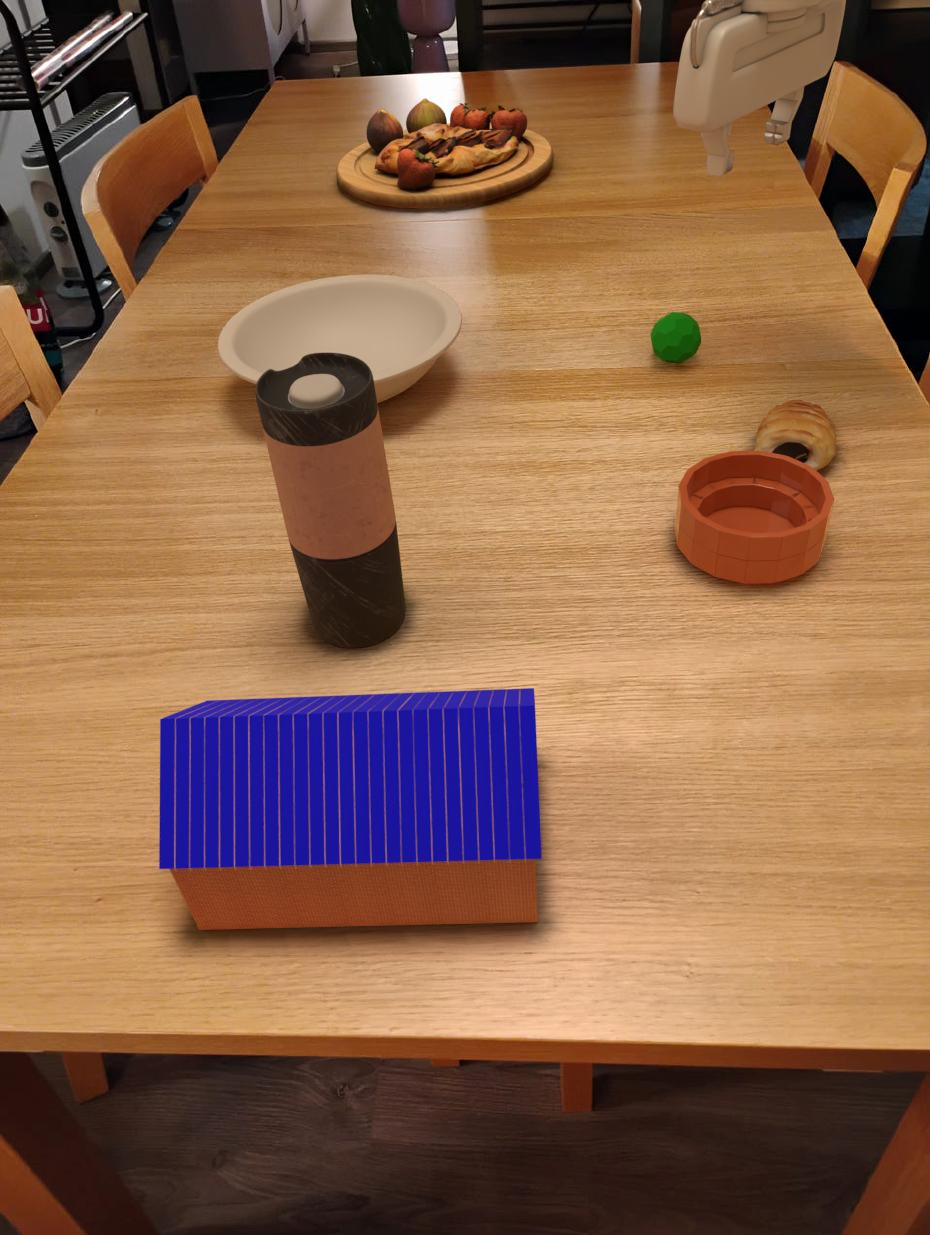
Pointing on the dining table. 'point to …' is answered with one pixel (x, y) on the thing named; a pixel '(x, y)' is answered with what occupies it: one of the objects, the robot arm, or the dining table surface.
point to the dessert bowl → (752, 516)
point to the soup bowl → (345, 328)
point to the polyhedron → (675, 338)
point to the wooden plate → (444, 157)
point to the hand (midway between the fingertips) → (748, 157)
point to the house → (353, 809)
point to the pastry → (798, 433)
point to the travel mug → (335, 495)
